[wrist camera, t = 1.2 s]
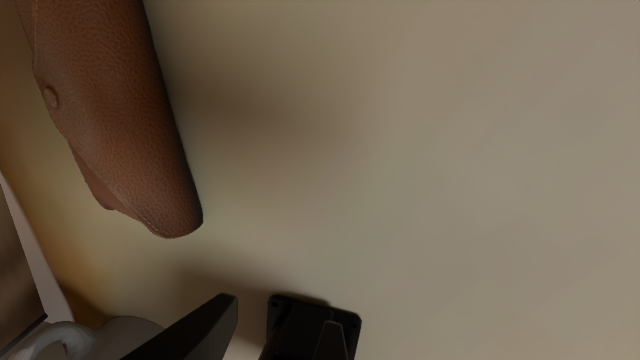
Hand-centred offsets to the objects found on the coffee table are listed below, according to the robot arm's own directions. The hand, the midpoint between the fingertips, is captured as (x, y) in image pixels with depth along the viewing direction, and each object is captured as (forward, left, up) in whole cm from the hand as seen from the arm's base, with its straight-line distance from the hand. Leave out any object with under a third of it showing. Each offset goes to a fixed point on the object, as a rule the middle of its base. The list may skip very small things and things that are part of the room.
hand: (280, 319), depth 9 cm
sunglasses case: (+1, +14, -13) cm, 19 cm away
